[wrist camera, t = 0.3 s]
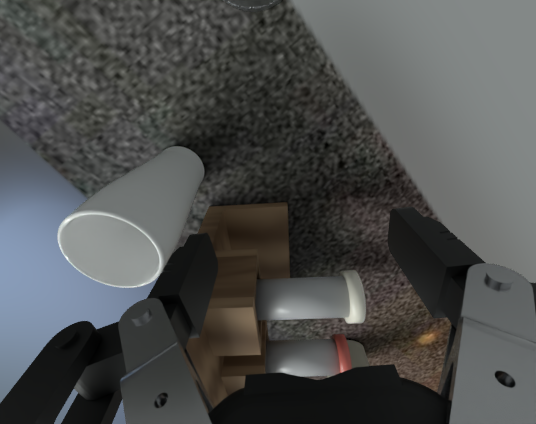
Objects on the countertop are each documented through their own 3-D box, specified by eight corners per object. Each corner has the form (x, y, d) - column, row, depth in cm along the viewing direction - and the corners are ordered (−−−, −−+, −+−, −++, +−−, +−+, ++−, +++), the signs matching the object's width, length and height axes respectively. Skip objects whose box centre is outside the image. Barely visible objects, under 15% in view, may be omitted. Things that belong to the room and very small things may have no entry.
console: (209, 206, 31) (149, 346, 16) (287, 202, 31) (302, 342, 16) (232, 306, 42) (209, 448, 27) (290, 304, 41) (302, 447, 26)
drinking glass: (185, 126, 26) (104, 190, 13) (223, 176, 29) (186, 268, 16) (140, 157, 28) (31, 239, 15) (180, 201, 31) (116, 300, 18)
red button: (262, 328, 31) (260, 369, 27) (342, 325, 30) (353, 367, 26) (265, 349, 33) (264, 389, 29) (339, 347, 33) (349, 388, 29)
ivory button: (253, 264, 25) (249, 304, 21) (352, 259, 24) (369, 300, 20) (257, 295, 27) (255, 336, 23) (347, 292, 27) (361, 333, 23)
